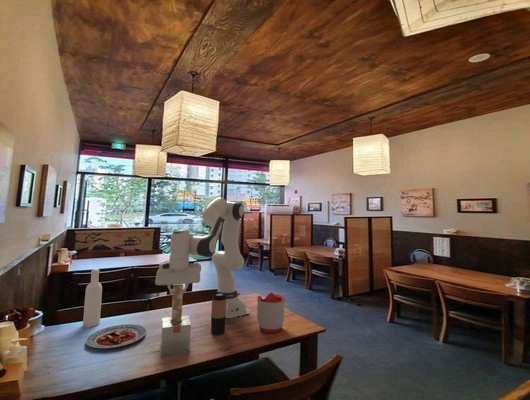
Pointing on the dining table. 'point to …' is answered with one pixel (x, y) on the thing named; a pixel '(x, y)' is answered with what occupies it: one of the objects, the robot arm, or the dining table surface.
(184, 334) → the sleeve block
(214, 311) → the travel mug
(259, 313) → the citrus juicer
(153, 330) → the dining table surface
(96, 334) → the ceramic plate
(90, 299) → the bottle
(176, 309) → the birch post
